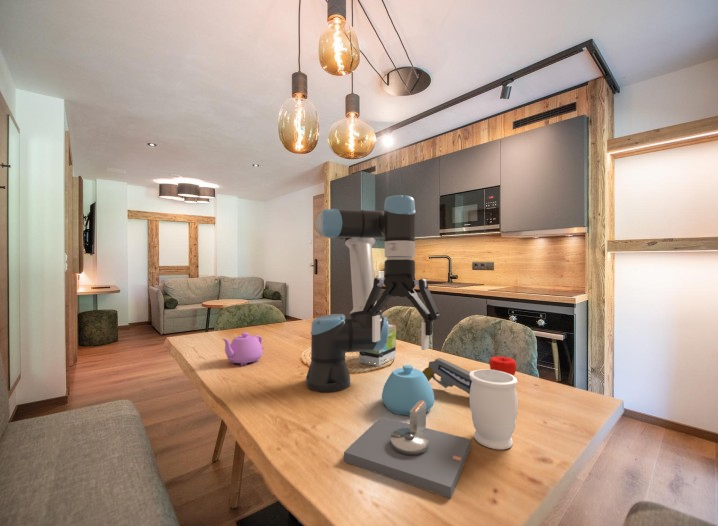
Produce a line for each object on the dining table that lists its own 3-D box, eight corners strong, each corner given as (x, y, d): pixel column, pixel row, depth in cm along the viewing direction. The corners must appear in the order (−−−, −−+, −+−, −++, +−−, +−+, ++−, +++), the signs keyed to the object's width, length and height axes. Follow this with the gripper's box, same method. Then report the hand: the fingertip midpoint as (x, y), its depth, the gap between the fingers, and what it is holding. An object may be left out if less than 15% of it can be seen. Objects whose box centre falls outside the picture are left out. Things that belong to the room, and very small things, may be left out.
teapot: (233, 372, 124) (233, 340, 124) (211, 365, 132) (211, 335, 132) (273, 359, 141) (273, 331, 141) (251, 354, 149) (251, 327, 149)
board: (343, 461, 68) (343, 451, 68) (380, 424, 83) (380, 415, 83) (451, 498, 57) (451, 486, 57) (470, 448, 73) (470, 438, 73)
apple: (509, 387, 109) (509, 363, 109) (484, 380, 116) (484, 357, 116) (520, 380, 115) (520, 358, 115) (496, 374, 122) (496, 353, 122)
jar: (462, 429, 81) (462, 369, 81) (502, 428, 82) (502, 368, 82) (482, 454, 70) (482, 384, 70) (527, 452, 71) (527, 383, 71)
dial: (421, 459, 65) (421, 428, 65) (384, 448, 69) (384, 418, 69) (439, 430, 76) (439, 403, 76) (406, 422, 80) (406, 397, 80)
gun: (481, 432, 97) (501, 390, 93) (415, 381, 112) (430, 344, 109) (486, 428, 99) (505, 387, 95) (420, 379, 115) (435, 342, 111)
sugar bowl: (373, 400, 99) (373, 362, 99) (415, 392, 105) (415, 356, 105) (398, 422, 85) (398, 377, 85) (445, 412, 91) (445, 370, 91)
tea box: (379, 367, 130) (379, 330, 130) (358, 363, 136) (358, 327, 136) (396, 358, 143) (396, 324, 143) (376, 354, 148) (376, 322, 148)
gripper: (350, 259, 85) (350, 340, 85) (442, 258, 71) (442, 356, 70) (366, 259, 91) (366, 335, 91) (454, 258, 77) (454, 349, 77)
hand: (399, 344), depth 81 cm, fingers open, 13 cm apart
